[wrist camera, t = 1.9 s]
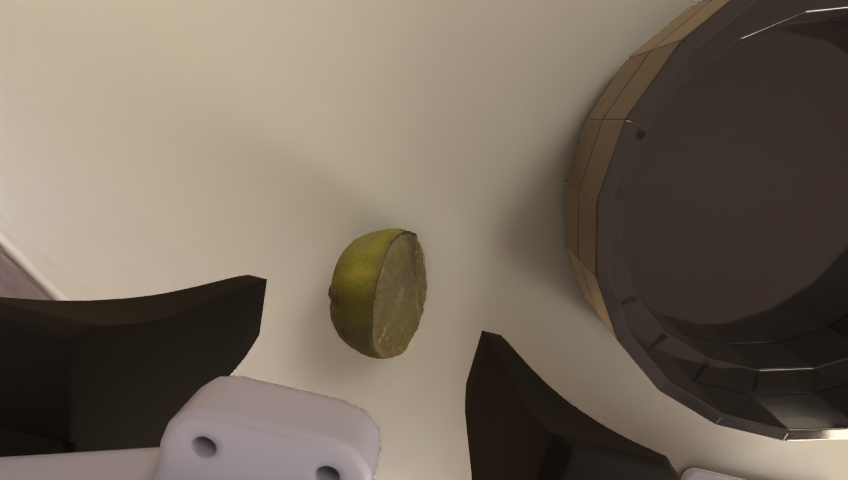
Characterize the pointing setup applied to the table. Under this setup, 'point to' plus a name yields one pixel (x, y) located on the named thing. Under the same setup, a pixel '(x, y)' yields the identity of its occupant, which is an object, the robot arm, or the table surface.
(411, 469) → the table surface
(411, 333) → the lime
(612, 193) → the skillet
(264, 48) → the table surface
